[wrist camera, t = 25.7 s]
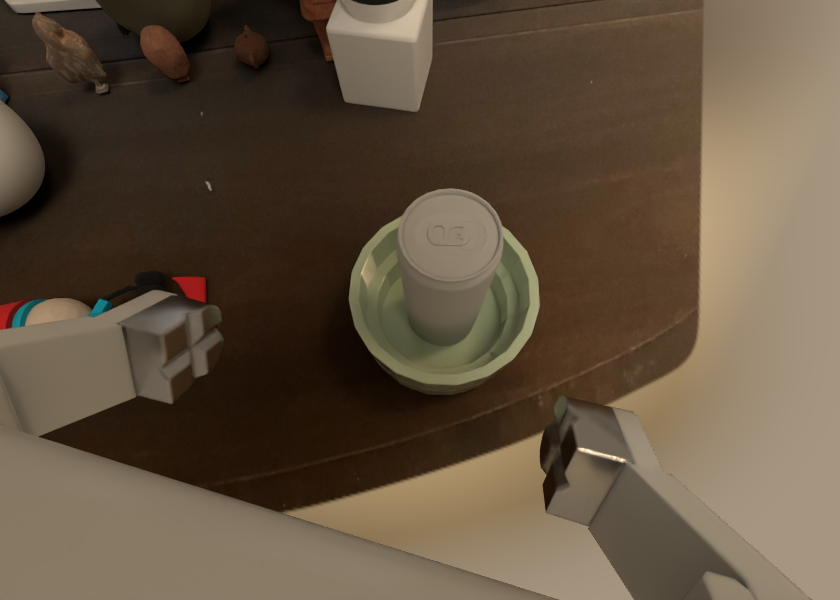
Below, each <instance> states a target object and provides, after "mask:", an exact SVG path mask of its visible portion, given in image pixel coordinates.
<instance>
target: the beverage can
mask: <svg viewBox="0 0 840 600" xmlns="http://www.w3.org/2000/svg"><path fill="white" fill-rule="evenodd" d="M503 236H504V235H503V229H502V223H501V221H500V219H499V217H498V215H497V213H496V211H495V210H494V209H493V208H492V207H491V206H490V204H489V203H488V202H486V201H485V200H483V199H482V198H481V197H479V196H478V195H475V194H473V193H470V192H468V191H465V190H459V189H439V190H436V191H432V192H429V193H426V194H425V195H423V196H421V197H419V198H418V199H416V200H415V201H414V202H413V203H412V204H411V205H410V206H409V207H408V208H407V209H406V211H405V212H404V214H403V216H402V218H401V220H400V224H399V228H398V233H397V237H396V246H397V256H398V262H399V268H400V274H401V279H402V285H403V291H404V297H405V303H406V308H407V314H408V319H409V322H410V325H411V327H412V329H413V330H414V331H415V333H416V334H417V335H418V336H419V337H421V338H422V339H423V340H425V341H426V342H428V343H430V344H433V345H437V346H451V345H454V344H457V343H459V342H460V341H462V340H463V339H465V338H466V337H467V335H468V334H469V333H470V332H471V330H472V328H473V326H474V324H475V321H476V319H477V316H478V314H479V311H480V309H481V307H482V304H483V302H484V299H485V297H486V294H487V292H488V289H489V287H490V284H491V282H492V280H493V277H494V275H495V272H496V270H497V267H498V265H499V262H500V260H501V257H502V251H503V244H504V243H503Z"/></svg>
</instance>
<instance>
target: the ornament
mask: <svg viewBox="0 0 840 600" xmlns="http://www.w3.org/2000/svg"><path fill="white" fill-rule="evenodd" d="M44 174H45V159H44V155H43V151H42V149H41V146H40V144H39V142H38V140H37V138H36V137H35V135H34V134H33V132H32V131H31V129H30V128H29V127H28V126H27V124H26V123H25V122H24V121H23V120H22V119H21V118H20V117H19V116H18V115H17V114H16V113H15V112H14V111H13V110H12V109H11V108H10V107H8V106H7V105H6V104H5V103H3V102H2V101H1V100H0V217H1V216H4V215H6V214H9V213H11V212H13V211H15V210H17V209H19V208H20V207H22V206H23V205H24V204H26V203H27V202H28V201H29V200H30V199H31V198H32V197H33V196H34V195H35V194H36V192H37V191H38V189H39V187H40V186H41V184H42V181H43V178H44Z"/></svg>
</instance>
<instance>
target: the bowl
mask: <svg viewBox="0 0 840 600" xmlns="http://www.w3.org/2000/svg"><path fill="white" fill-rule="evenodd" d="M401 218H402V216H401V217H399V218H397V219H396V220H394V221H392V222H391V223H389V224H387V225H385V226H384V227H382V228H381V229H380V230H379V231H378V232H377V233H376V234H375V235H374V237H373V238H372V239H371V240H370V241H369V242H368V243H367V244H366V245H365V246H364V247H363V249H362V251H361V253H360V255H359V257H358V260H357V262H356V264H355V266H354V268H353V270H352V273H351V282H350V291H349V304H350V308H351V313H352V317H353V322H354V326H355V329H356V330H357V332H358V333H359V335H360V337H361V338H362V340H363V341H364V343H365V345H366V346H367V348H368V350H369V351H370V353H371V354H372V356H373V357H374V358H375V360H376V361H377V363H378V364H379V366H380V367H381V368H382V369H383V370H384V371H385V372H386V373H388V374H389V375H390V376H391V377H392V378H394V379H395V380H396V381H397V382H398V383H400V384H401V385H403V386H406V387H408V388H411V389H414V390H416V391H419V392H421V393H424V394H436V395H454V394H458V393H461V392H465V391H468V390H472V389H475V388H478V387H479V386H481V385H482V384H484V383H485V382H486V381H488V380H489V379H491V378H492V377H494V376H495V375H497V374H498V373H499V372H500V371H501V370H502V369H503V368H504V367H505V366H507V365H508V364H509V363H510V362H511V361H512V360H513V359H514V358H515V357H516V356H517V354H518V353H519V351H520V350H521V349H522V347H523V346H524V344H525V343H526V342H527V340H528V339H529V338H530V336H531V334H532V332H533V328H534V325H535V322H536V318H537V315H538V311H539V306H540V301H539V285H538V277H537V275H536V272H535V270H534V267H533V265H532V262H531V260H530V258H529V255H528V253H527V251H526V250H525V249H524V248H523V247H522V245H521V244H520V243H519V242H518V241H517V240H516V238H515V237H514V236H513V235H512V234H511V232H509V230H507V229H506V228H504V227H502V229H503V235H504V236H503V243H504V244H503V251H502V257H501V260H500V262H499V265H498V267H497V270H496V272H495V275H494V277H493V280H492V282H491V284H490V287H489V289H488V292H487V294H486V297H485V299H484V302H483V304H482V307H481V309H480V311H479V314H478V316H477V319H476V321H475V324H474V326H473V328H472V330H471V332H470V333H469V334H468V335H467V337H466V338H465V339H463V340H462V341H460V342H459V343H457V344H454V345H451V346H437V345H433V344H430V343H428V342H426V341H425V340H423V339H422V338H421V337H419V336H418V335H417V334H416V333H415V331H414V330H413V329H412V327H411V325H410V322H409V319H408V314H407V308H406V303H405V297H404V291H403V285H402V279H401V274H400V268H399V262H398V256H397V246H396V237H397V233H398V228H399V224H400V220H401Z"/></svg>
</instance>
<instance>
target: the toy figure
mask: <svg viewBox="0 0 840 600" xmlns="http://www.w3.org/2000/svg"><path fill="white" fill-rule="evenodd" d="M172 279H173V280H175V281H176V282H177V283H178V284H179V285H180V287H181V288H182V290H183V291H184V293H185V295H186V297H188V298H191V299H195V300H198V301H202V302H205V303H206V278H204V277H173V278H172ZM135 282H136V284H137V285H138V286H133V287H132V286H127V287H125V288H123V289H121V290H118V291H116V292H114V293H112V294H110V295H108V296H105V297H103V299H102V300H101V299H99V300H98V302H97V304H96V305H95V307H94V309H93V310H92V309H91V308H90V307H88V306H87V305H85V304H84V303H82V302H80V301H77V300H74V299H69V298H57V299H50V300H45V299H39V300H24V301H19V302H14V303H9V304H4V305H1V306H0V330H3V329H9V328H15V327H22V326H28V325H34V324H41V323H47V322H53V321H60V320H66V319H72V318H79V317H85V316H89V317H93V318H94V317H96V316H99V315H101V314H103V313H105V312H107V311H109V310H110V308H111V307H112V305H113V304H112V303H110V302H108V300H110V299H112V298H115V297H117V296H119V295H121V294H123V293H125V292H127V291H130V290H137V291H136V296H137V297H139V296H141V295H144V294H146V293H148V292H150V291H152V290H162V291H165V289H164V288H163V287H162V286H161V284H162V283H163V282H164V276H163V274H162V273H161V272H158V271H148V272H141V273H139V274H137V275H136V277H135Z"/></svg>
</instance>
